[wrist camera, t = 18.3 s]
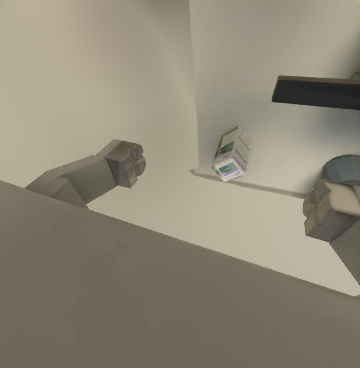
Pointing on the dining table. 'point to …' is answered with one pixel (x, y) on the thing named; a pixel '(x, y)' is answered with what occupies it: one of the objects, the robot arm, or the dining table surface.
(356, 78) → the green hollow pedestal
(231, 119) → the dining table surface
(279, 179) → the dining table surface
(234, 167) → the syrup box
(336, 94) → the pan
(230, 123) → the dining table surface
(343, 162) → the grey bowl
